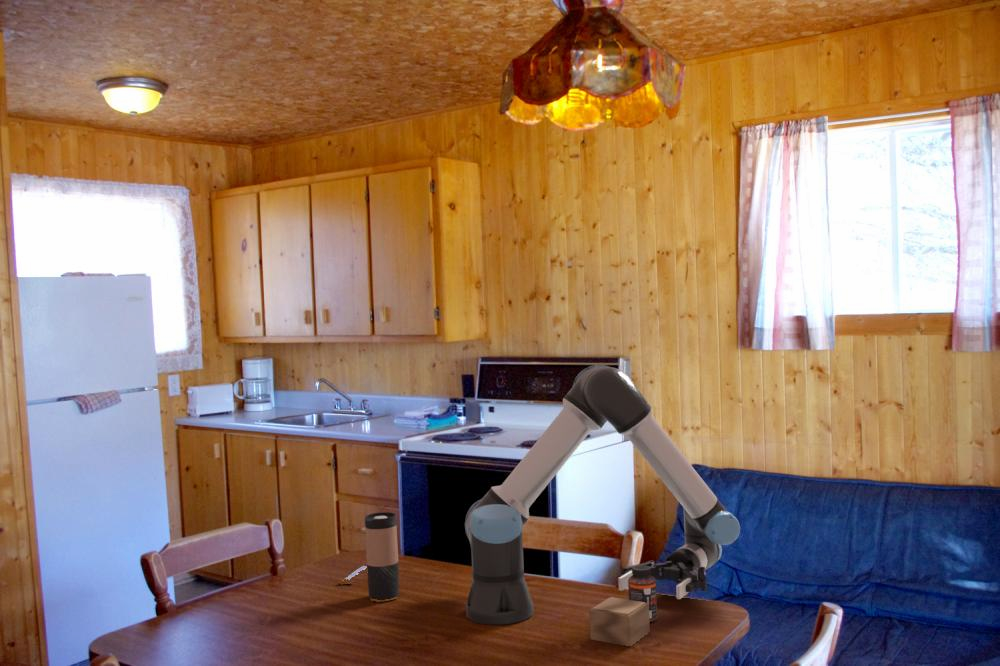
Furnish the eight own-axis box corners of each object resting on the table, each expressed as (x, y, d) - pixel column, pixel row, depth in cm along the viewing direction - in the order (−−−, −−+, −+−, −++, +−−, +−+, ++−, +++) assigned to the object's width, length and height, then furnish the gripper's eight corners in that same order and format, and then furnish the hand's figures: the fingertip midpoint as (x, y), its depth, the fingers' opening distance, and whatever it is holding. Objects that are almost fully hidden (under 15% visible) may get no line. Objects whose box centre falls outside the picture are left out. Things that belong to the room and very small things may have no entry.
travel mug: (401, 592, 216) (397, 511, 216) (398, 601, 208) (394, 518, 208) (370, 593, 216) (366, 513, 215) (366, 603, 208) (362, 520, 208)
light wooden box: (590, 639, 178) (589, 608, 178) (610, 625, 186) (609, 595, 186) (630, 646, 173) (629, 615, 173) (649, 632, 181) (648, 602, 181)
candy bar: (351, 588, 223) (351, 580, 223) (336, 587, 224) (336, 580, 224) (378, 569, 239) (378, 562, 239) (364, 568, 240) (364, 562, 240)
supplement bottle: (657, 624, 185) (654, 571, 185) (628, 624, 186) (626, 571, 186) (657, 615, 191) (655, 563, 191) (630, 614, 192) (628, 563, 192)
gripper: (738, 586, 200) (704, 614, 183) (638, 573, 214) (597, 597, 197) (736, 553, 200) (702, 578, 183) (636, 542, 214) (596, 564, 197)
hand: (648, 588), depth 190 cm, fingers open, 13 cm apart
